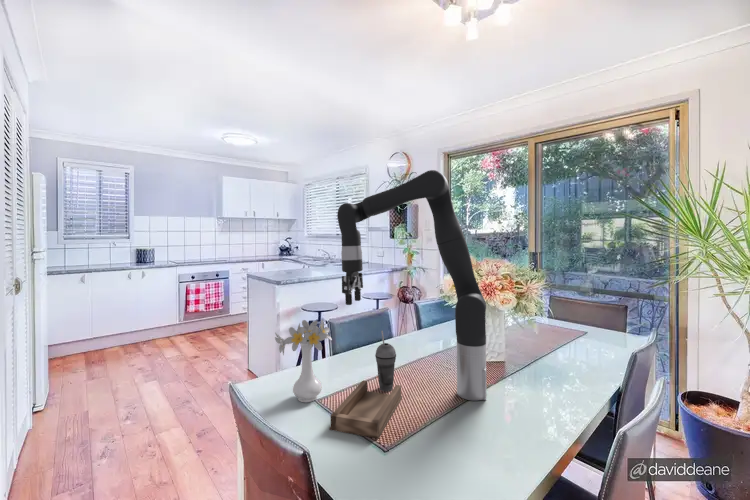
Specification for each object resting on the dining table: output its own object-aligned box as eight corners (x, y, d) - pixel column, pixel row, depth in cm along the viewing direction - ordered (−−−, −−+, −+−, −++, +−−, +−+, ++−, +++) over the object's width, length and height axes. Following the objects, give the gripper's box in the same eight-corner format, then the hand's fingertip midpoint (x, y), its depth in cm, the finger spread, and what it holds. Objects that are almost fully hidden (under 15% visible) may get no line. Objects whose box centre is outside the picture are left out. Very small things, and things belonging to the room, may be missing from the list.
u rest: (402, 397, 111) (402, 385, 111) (378, 438, 89) (378, 423, 89) (361, 392, 116) (361, 380, 116) (329, 429, 93) (329, 415, 93)
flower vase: (270, 401, 110) (268, 323, 109) (320, 384, 122) (318, 314, 121) (289, 417, 100) (287, 331, 100) (341, 397, 112) (340, 321, 112)
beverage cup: (395, 394, 114) (394, 334, 113) (373, 392, 116) (372, 333, 115) (398, 385, 121) (397, 328, 121) (377, 383, 123) (377, 327, 122)
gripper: (354, 259, 118) (355, 306, 119) (368, 257, 132) (369, 299, 132) (334, 259, 121) (335, 306, 121) (350, 257, 134) (351, 299, 134)
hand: (353, 302), depth 126 cm, fingers open, 8 cm apart
